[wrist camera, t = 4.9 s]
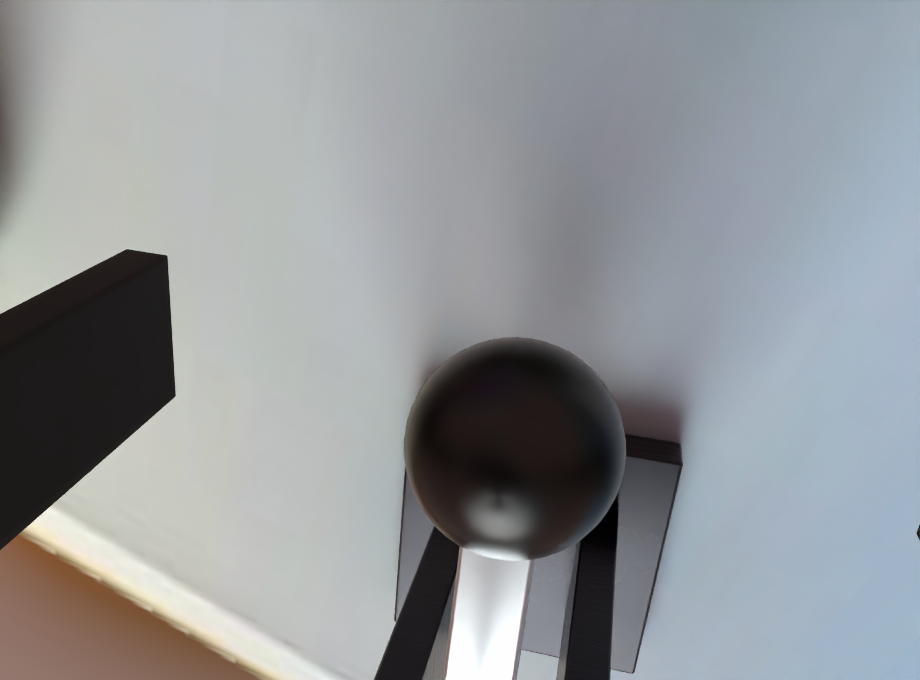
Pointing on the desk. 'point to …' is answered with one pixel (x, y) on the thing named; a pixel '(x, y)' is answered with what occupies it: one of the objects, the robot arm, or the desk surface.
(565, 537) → the flush lever
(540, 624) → the black upright frame
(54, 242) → the desk surface
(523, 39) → the desk surface
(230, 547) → the desk surface
